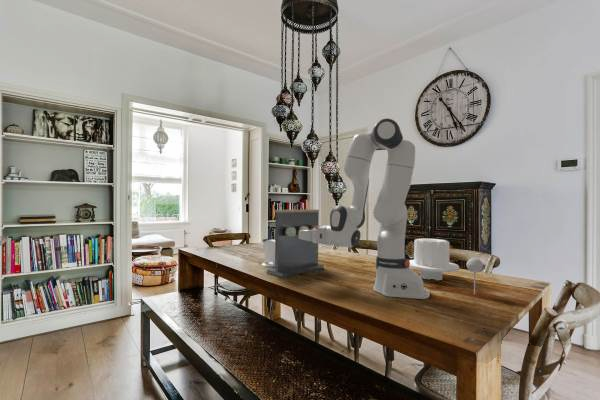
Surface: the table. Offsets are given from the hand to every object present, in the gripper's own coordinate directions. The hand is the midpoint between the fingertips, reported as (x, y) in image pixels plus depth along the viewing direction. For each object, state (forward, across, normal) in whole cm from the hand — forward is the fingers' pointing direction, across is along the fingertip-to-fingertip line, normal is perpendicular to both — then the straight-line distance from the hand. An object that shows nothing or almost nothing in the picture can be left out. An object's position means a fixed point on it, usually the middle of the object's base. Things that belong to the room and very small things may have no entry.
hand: (304, 232), depth 150 cm
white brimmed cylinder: (-44, -48, +22) cm, 68 cm away
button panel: (+13, -10, +22) cm, 28 cm away
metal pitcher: (+36, -11, +23) cm, 44 cm away
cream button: (+9, -10, +3) cm, 14 cm away
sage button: (+9, 0, +3) cm, 10 cm away
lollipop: (-68, -30, +22) cm, 77 cm away
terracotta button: (+9, -20, +3) cm, 22 cm away
